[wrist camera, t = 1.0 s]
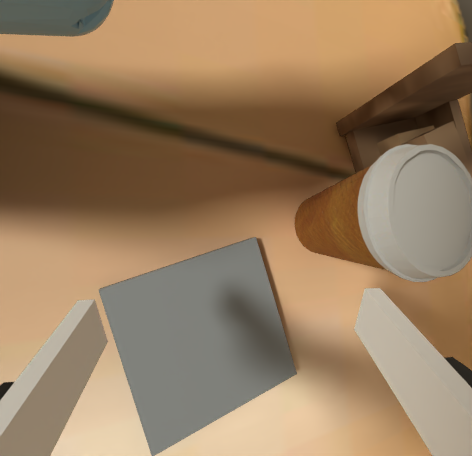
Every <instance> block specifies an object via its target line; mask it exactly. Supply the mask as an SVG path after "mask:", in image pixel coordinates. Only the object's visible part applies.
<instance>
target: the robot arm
mask: <svg viewBox="0 0 472 456" xmlns="http://www.w3.org/2000/svg"><path fill="white" fill-rule="evenodd" d="M113 1H114V0H0V34H19V35H46V36H81V35H85V34H88V33H90V32H92V31H94V30H96V29H97V28H98V27H99V26H101V25H102V23H103V22H104V21H105V19H106V18H107V16H108V15H109V12H110V10H111V8H112V5H113ZM354 330H355V331H356V333H357V335H358V336H359V338H360V340H361V341H362V343H363V344H364V346H365V348H366V349H367V351H368V352H369V354H370V356H371V357H372V359H373V360H374V362H375V364H376V365H377V367H378V369H379V370H380V372H381V373H382V375H383V377H384V378H385V380H386V381H387V383H388V385H389V386H390V388H391V390H392V391H393V393H394V394H395V396H396V398H397V399H398V401H399V402H400V404H401V406H402V407H403V409H404V410H405V412H406V414H407V415H408V417H409V419H410V420H411V422H412V423H413V425H414V427H415V428H416V430H417V431H418V433H419V435H420V436H421V438H422V440H423V441H424V443H425V444H426V446H427V448H428V449H429V451H430V452H431V454H432V456H472V371H471V370H470V369H469V368H467V367H466V366H465V365H463V364H462V363H460V362H459V361H457V360H456V359H455V358H453V357H448V358H444V357H443V356H442V355H441V354H440V353H439V352H438V351H437V350H436V349H435V347H434V346H433V345H432V344H431V343H430V342H429V341H428V340H427V339H426V338H425V337H424V335H423V334H422V333H421V332H420V331H419V330H418V329H417V328H416V327H415V326H414V325H413V324H412V322H411V321H410V320H409V319H408V318H407V317H406V316H405V315H404V314H403V313H402V312H401V310H400V309H399V308H398V307H397V306H396V305H395V304H394V303H393V302H392V301H391V300H390V298H389V297H388V296H387V295H386V294H385V293H384V292H383V291H382V290H381V289H380V288H365V290H364V294H363V298H362V301H361V305H360V309H359V313H358V317H357V321H356V325H355V329H354ZM107 342H108V341H107V337H106V334H105V331H104V328H103V325H102V321H101V318H100V315H99V312H98V308H97V305H96V302H95V300H78V301H77V302H76V304H75V305H74V306H73V308H72V309H71V310H70V311H69V313H68V314H67V315H66V317H65V318H64V319H63V320H62V322H61V323H60V324H59V326H58V327H57V328H56V329H55V331H54V332H53V333H52V335H51V336H50V337H49V338H48V340H47V341H46V342H45V344H44V345H43V346H42V347H41V349H40V350H39V351H38V353H37V354H36V355H35V356H34V358H33V359H32V360H31V362H30V363H29V364H28V365H27V367H26V368H25V369H24V371H23V372H22V373H21V374H20V376H19V377H18V378H17V380H16V381H15V382H5V383H3V384H2V385H0V456H50V455H51V453H52V451H53V449H54V447H55V445H56V443H57V441H58V439H59V437H60V435H61V433H62V431H63V429H64V427H65V425H66V423H67V421H68V419H69V417H70V415H71V413H72V411H73V409H74V407H75V405H76V403H77V401H78V399H79V397H80V395H81V394H82V392H83V390H84V388H85V386H86V384H87V382H88V380H89V378H90V376H91V374H92V372H93V370H94V368H95V366H96V364H97V362H98V360H99V358H100V356H101V354H102V352H103V350H104V348H105V346H106V344H107Z"/></svg>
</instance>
